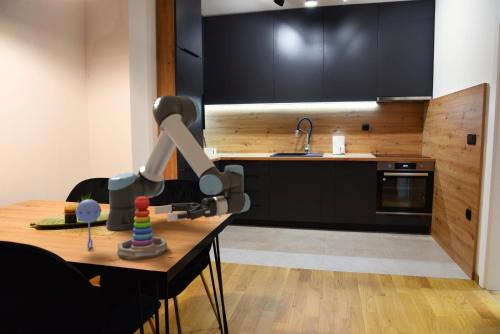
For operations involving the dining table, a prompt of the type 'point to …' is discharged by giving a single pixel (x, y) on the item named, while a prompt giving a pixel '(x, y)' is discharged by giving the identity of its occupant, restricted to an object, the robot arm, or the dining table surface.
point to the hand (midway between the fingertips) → (160, 214)
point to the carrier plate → (142, 250)
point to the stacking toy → (142, 226)
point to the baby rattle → (88, 214)
